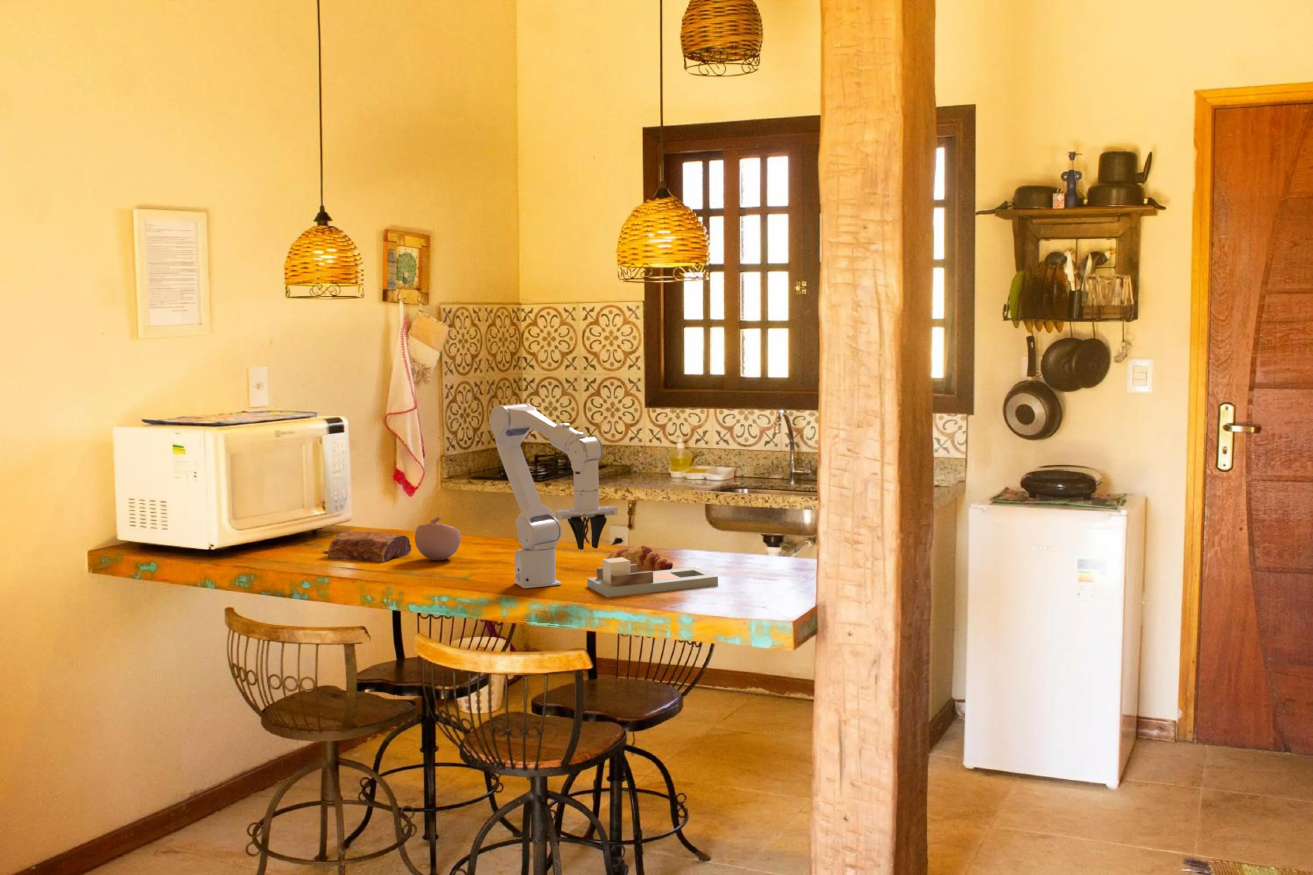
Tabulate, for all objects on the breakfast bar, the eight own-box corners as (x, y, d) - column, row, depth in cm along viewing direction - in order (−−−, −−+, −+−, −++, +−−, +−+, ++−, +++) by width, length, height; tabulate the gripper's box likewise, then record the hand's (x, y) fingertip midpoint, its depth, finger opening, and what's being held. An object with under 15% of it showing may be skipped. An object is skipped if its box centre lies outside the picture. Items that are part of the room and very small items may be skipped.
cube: (610, 584, 295) (610, 562, 295) (603, 580, 300) (602, 559, 299) (630, 582, 297) (630, 560, 296) (623, 578, 302) (622, 557, 301)
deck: (606, 597, 291) (606, 588, 290) (587, 586, 303) (587, 578, 302) (718, 584, 301) (717, 576, 301) (695, 574, 313) (695, 566, 313)
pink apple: (466, 555, 345) (464, 513, 343) (455, 564, 333) (453, 520, 332) (422, 555, 346) (421, 513, 345) (410, 564, 334) (408, 521, 333)
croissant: (599, 581, 325) (588, 556, 321) (619, 557, 331) (609, 533, 328) (666, 589, 312) (656, 563, 308) (686, 564, 319) (677, 538, 315)
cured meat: (344, 546, 363) (342, 523, 362) (420, 551, 354) (419, 527, 353) (305, 560, 346) (303, 535, 345) (383, 565, 337) (382, 539, 336)
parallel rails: (613, 586, 292) (612, 575, 292) (597, 578, 302) (596, 567, 302) (653, 582, 296) (653, 571, 296) (636, 574, 306) (636, 563, 306)
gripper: (561, 494, 287) (563, 553, 288) (622, 489, 293) (623, 548, 294) (552, 490, 293) (553, 548, 295) (611, 486, 299) (612, 543, 300)
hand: (587, 548), depth 295 cm, fingers open, 3 cm apart
